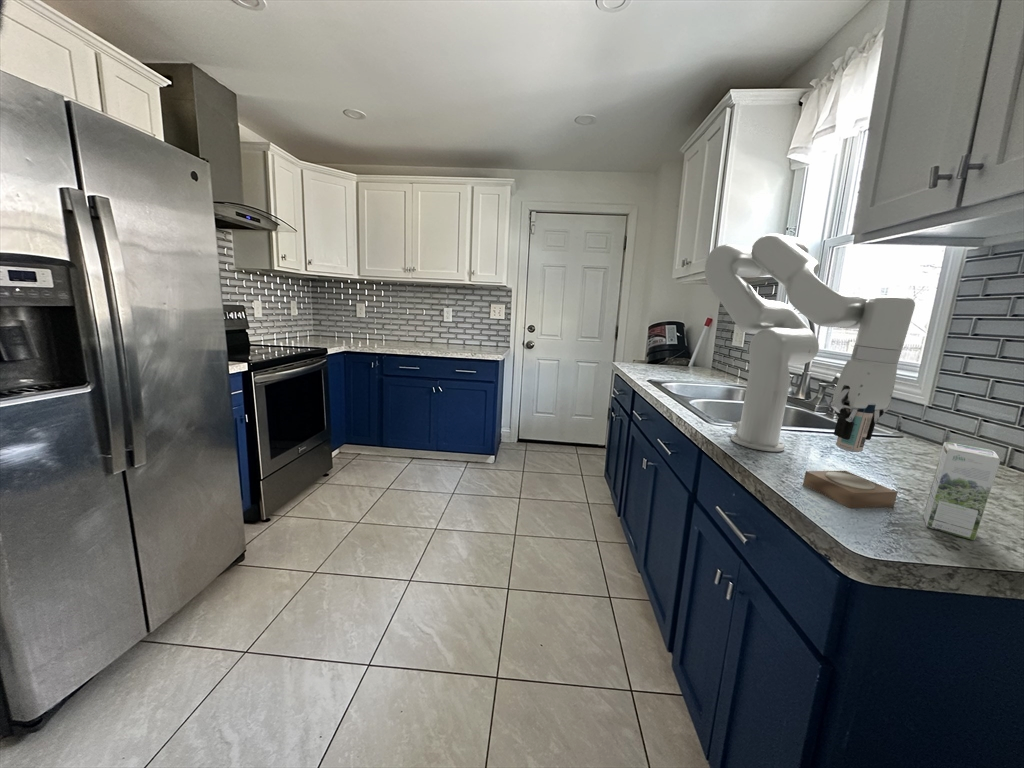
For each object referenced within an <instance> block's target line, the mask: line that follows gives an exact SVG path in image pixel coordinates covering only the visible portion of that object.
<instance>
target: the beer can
mask: <svg viewBox="0 0 1024 768" xmlns="http://www.w3.org/2000/svg"><path fill="white" fill-rule="evenodd" d="M849 404H850V403H849ZM849 404H848V406H850V405H849ZM875 406H876V404H875V403H870V404H868V406H867V407H866V408H864V409H858V410H857V412H856V414H855V416H854V418H853V420H852V421H851V422H854V426H853V429H852V433H851V436H850V439H849V440H846V439H843V438H840V437H838V436H837V439H836V442H835V446H837V447H838V448H839V449H840V450H844V451H846V452H850V453H861V452H863V451H864V446H865V442H866V437H867V433H868V430H869V426H870V423H871V420H872V416H873V413H874V410H875ZM846 410H847V412H848V413H849V411H850V409H846Z"/></svg>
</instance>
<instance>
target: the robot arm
mask: <svg viewBox="0 0 1024 768" xmlns="http://www.w3.org/2000/svg"><path fill="white" fill-rule="evenodd" d="M819 270H820V263H819V261H818V260H817V259H815V258H814V257H812V256H811V255H810V254H809V246H808V245H807V243H806V242H805V241H804V240H803V239H801V238H799V237H795V236H791V235H784V234H781V233H768V234H765V235H763V236H761V237H760V238H758V239H757V240H756V241H755V242H754V243H753V245H752V246H745V245H738V244H722V245H718V246H716V247H715V248H713V249H712V250H711V251H710V252H709V254H708V256H707V258H706V260H705V265H704V276H705V278H704V279H705V282H706V284H707V287H709V289H710V290H711V292H712V293H713V295H714V296H715V297H716V298H717V299H718V301H719V302H720V303H721V305H722V306H723V308H724V310H725V311H726V312H727V313H728V315H729V316H730V318H731V319H732V321H733V322H734V323H735V325H736V326H737V327H738V328H739V330H740V331H742V333H746V334H751V335H753V337H752V338H751V341H750V342H749V347H748V349H749V350H748V351H749V352H748V356H749V366H748V367H749V368H748V376H747V382H746V388H745V394H744V400H743V404H742V411H741V416H740V417H741V418H740V420H739V421H736V422H735V423H734V422H733V423H731V428H733V429H735V431H736V432H735V433H732V434H731V436H730V439H731V441H732V442H733V443H735V444H737V445H739V446H742V447H745V448H749V449H753V450H756V451H764V452H772V453H773V452H777V453H778V452H783V451H784V450H785V449H786V445H785V444H784V443H783V442H782V441H780V436H781V431H782V427H783V426H782V425H783V420H784V417H785V411H786V407H787V406H786V405H787V400H788V396H789V390H790V386H791V385H790V384H791V374H790V369H789V365H792V366H793V365H795V366H797V365H804V364H808V363H809V362H811V361H813V360H814V359H815V358H816V356H817V355H818V353H819V349H820V346H819V345H820V343H819V340H818V338H817V337H816V334H815V333H814V332H813V331H812V330H811V328H810V327H809V325H808V324H806V323H805V321H804V320H803V319H802V317H801V316H800V315H799V314H798V313H797V312H796V310H797V311H798V312H799V313H800V314H801V315H803V316H804V317H805V318H806V319H808V321H810V322H812V323H813V324H816V325H818V326H820V327H824V328H825V327H826V328H838V329H849V330H853V329H854V330H858V331H857V334H856V338H855V341H854V342H855V343H854V346H853V350H852V353H851V357H850V359H847V361H846V363H845V364H844V367H843V368H842V370H841V373H840V375H839V377H838V381H837V382H836V384H835V385H836V386H835V389H834V392H833V396H832V401H831V402H830V407H831V408H832V409H833V411H834V413H835V414H836V415H835V417H836V419H837V421H836V424H835V428H834V432H833V435H834V437H835V436H836V437H837V438H838V437H840V438H843V439H846V440H849V439H850V436H851V433H852V429H853V426H854V422H851V421H852V420H853V418H854V416H855V414H856V412H857V410H858V409H864V408H866V407H867V406H868V404H870V403H875V404H876V406H875V410H874V413H873V416H872V420H871V423H870V426H869V430H868V433H867V437H866V440H867V441H870V440H872V436H873V433H874V429H875V426H876V423H879V420H880V417H882V416H883V415H884V413H886V412H887V411H888V410H890V409H891V406H892V405H891V403H890V402H891V400H892V397H893V393H894V390H895V385H896V378H897V372H898V371H897V370H898V363H899V360H900V357H901V354H902V351H903V347H904V344H905V342H906V338H907V334H908V331H909V328H910V324H911V321H912V317H913V314H914V311H915V307H916V302H915V300H914V299H913V298H910V297H906V296H895V295H894V296H893V295H892V296H891V295H875V296H867V295H861V294H853V293H847V292H837V291H836V290H834V289H832V288H831V287H829V285H827V284H826V283H824V282H823V281H822V280H821V279H819V277H818V276H817V275H818V273H819ZM766 276H771V278H773V279H774V280H775V281H776V282H777V283H778V284H780V285H781V286H782V287H783V288H784V291H785V295H786V297H787V300H788V302H789V303H790V304H791V305H792V307H794V308H792V307H791V306H790V305H788V304H787V303H785V302H782V301H777V300H769V299H765V298H763V297H761V296H760V295H759V294H758V293H757V292H756V291H755V289H754V288H753V286H751V284H750V283H749V282H747V281H746V280H745V279H744V278H749V279H750V278H751V279H752V278H761V277H766ZM794 309H796V310H794ZM849 403H850V404H849ZM848 404H849V405H850V406H848ZM846 409H850V411H849V413H848V412H847V410H846ZM866 440H865V441H866Z"/></svg>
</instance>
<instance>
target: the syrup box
mask: <svg viewBox="0 0 1024 768" xmlns="http://www.w3.org/2000/svg"><path fill="white" fill-rule="evenodd" d="M1000 463H1001V459H1000V457H999V456H998V454H997V453H996V452H995V451H994V450H992V449H987V448H981V447H976V446H972V445H971V446H970V445H964V444H959V443H954V442H948V441H944V442H943V444H942V448H941V452H940V456H939V459H938V462H937V467H936V470H935V472H934V476H933V479H932V483H931V487H930V490H929V494H928V498H927V500H926V503H925V504H926V505H925V508H924V512H923V519H924V522H925V526H926V528H929V529H933V530H936V531H940V532H943V533H946V534H949V535H953V536H955V537H956V536H957V537H960V538H964V539H967V540H971V541H975V540H976V537H977V534H978V531H979V528H980V526H981V522H982V519H983V516H984V513H985V508H986V506H987V503H988V499H989V497H990V493H991V491H992V487H993V484H994V482H995V481H994V480H995V478H996V475H997V472H998V470H999V466H1000Z"/></svg>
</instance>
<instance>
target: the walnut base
mask: <svg viewBox="0 0 1024 768" xmlns="http://www.w3.org/2000/svg"><path fill="white" fill-rule="evenodd" d="M802 486H805V487H807V488H809V489H810V490H813V491H814V492H817V493H819V494H821V495H823V496H825V497H827V498H828V499H831V500H833V501H835V502H837V503H839V504H841V505H843V506H845V507H847V508H849V509H867V508H869V509H870V508H872V509H873V508H894V507H895V505H896V502H897V501H896V500H897V497H898V491H896V490H894V489H891V488H890V487H886V486H884V485H881V484H879V483H877V482H874V481H873V480H869V479H867V478H865V477H862V476H860V475H856V474H854V473H852V472H850V471H847V470H805V473H804V477H803V482H802Z"/></svg>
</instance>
